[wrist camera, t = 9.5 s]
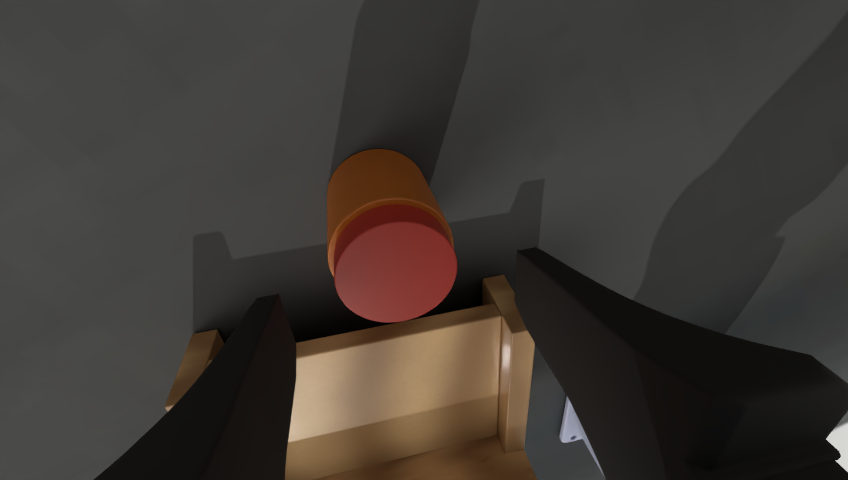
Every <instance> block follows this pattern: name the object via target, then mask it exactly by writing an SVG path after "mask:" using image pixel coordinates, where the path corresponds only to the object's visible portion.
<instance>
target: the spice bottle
mask: <svg viewBox="0 0 848 480" xmlns="http://www.w3.org/2000/svg"><path fill="white" fill-rule="evenodd" d="M327 250H328V264H329V268H330V271H331V273H332V275H333V277H334V282H335V287H336V290H337V293H338V295H339V297H340V299H341V300H342V301H343V303H344V304H345V305H346V306H347V307H348V308H349V309H350V310H351V311H353V312H354V313H356V314H357V315H359V316H361V317H364V318H366V319H369V320H373V321H378V322H389V323H390V322H401V321H406V320H410V319H413V318H416V317H419V316H421V315H423V314H425V313H427V312H429V311H430V310H432V309H433V308H435V307H436V306H437V305H438V304H439V303H440V302H442V301H443V299H444V298H445V297H446V296H447V295H448V293H449V292H450V290H451V288H452V286H453V284H454V282H455V279H456V275H457V266H458V264H457V257H456V253H455V251H454V242H453V236H452V232H451V229H450V227H449V225H448V223H447V221H446V219H445V217H444V215H443V213H442V211H441V209H440V207H439V205H438V203H437V201H436V199H435V198H434V196H433V194H432V192H431V190H430V188H429V186H428V184H427V182H426V180H425V178H424V176H423V174H422V172H421V171H420V169H419V168H418V167H417V165H416V164H415V163H414V162H413V161H412V160H410V159H409V158H408V157H406V156H404V155H403V154H400V153H398V152H395V151H392V150H387V149H370V150H365V151H362V152H359V153H357V154H355V155H353V156H351V157H349V158H348V159H346V160H345V161H344V162H343V163H342V164H340V166H339V167H338V168H337V169H336V170H335V172H334V173H333V175H332V177H331V179H330V182H329V185H328V191H327Z"/></svg>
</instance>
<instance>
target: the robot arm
mask: <svg viewBox="0 0 848 480" xmlns="http://www.w3.org/2000/svg"><path fill="white" fill-rule="evenodd" d="M514 302H515V304H516V307H517V309H518V311H519V314H520V316H521V318H522V320H523V323H524V325H525V327H526V329H527V331H528V332H529V334H530V336H531V337H532V339H533V341H534V342H535V344H536V346H537V347H538V349H539V351H540V352H541V354H542V356H543V357H544V359H545V360H546V362H547V364H548V365H549V367H550V369H551V370H552V372H553V373H554V375H555V377H556V378H557V380H558V382H559V383H560V385H561V386H562V388H563V390H564V392H565V393H566V395H567V398H566V404H565V409H564V415H563V420H562V426H561V431H560V436H559V437H560V439H561V441H562V442H563V443H567V442H571V441H575V440H579V439H583V440H584V442H585V444H586V445H587V447H588V449H589V451H590V452H591V454H592V456H593V458H594V460H595V461H596V463H597V465H598V467H599V468H600V470H601V472H602V474H603V475H604V477H605V479H606V480H848V472H847V471H845V470H844V469H843V468H842V467H841V466H840V465H839V464H838V463H837V462H836V461H835V460H838V459H839V458H840V457H841V455H840V453H839V451H838V450H837V449H836V448H835V447H834V446H832V445H831V444H830V443H829V442H828V441H827V440H826V438H827V437H828V435H829V434H830V433H831V431H832V430H833V429H834V428H835V426H836V425H837V424H838V423H839V421H840V420H841V419H842V418H843V416H844V415H845V414H846V412H847V411H848V383H846V382H845V381H844V380H843V379H841V378H840V377H839V376H837V375H836V374H835V373H833V372H832V371H831V370H829V369H828V368H827V367H826V366H824V365H823V364H822V363H820V362H819V361H818V360H816V359H815V358H814V357H813V356H811V355H808V354H804V353H799V352H795V351H790V350H786V349H781V348H777V347H772V346H768V345H763V344H759V343H755V342H751V341H747V340H743V339H740V338H736V337H733V336H729V335H725V334H722V333H719V332H715V331H712V330H709V329H705V328H702V327H699V326H697V325H694V324H691V323H688V322H685V321H682V320H679V319H676V318H674V317H671V316H668V315H666V314H663V313H661V312H658V311H656V310H654V309H651V308H649V307H646V306H644V305H642V304H639V303H637V302H635V301H633V300H631V299H628V298H626V297H624V296H622V295H620V294H618V293H616V292H614V291H612V290H610V289H608V288H606V287H604V286H603V285H601V284H599V283H597V282H595V281H593V280H592V279H590V278H588V277H586V276H584V275H583V274H581V273H579V272H578V271H576V270H574V269H572V268H571V267H569V266H567V265H566V264H564V263H562V262H561V261H559V260H557V259H556V258H554V257H552V256H551V255H549V254H547V253H545V252H544V251H542V250H540V249H538V248H536V247H534V248H529V249H524V250H518V251H517V263H516V280H515V297H514ZM295 384H296V342H295V339H294V336H293V334H292V331H291V328H290V325H289V322H288V319H287V316H286V313H285V311H284V308H283V305H282V302H281V299H280V296H279V294H276V295H271V296H265V297H260V298H257V299H256V300H255V301H254V303H253V304H252V305H251V307H250V308H249V310H248V311H247V313H246V314H245V316H244V317H243V318H242V320H241V321H240V323H239V324H238V326H237V327H236V329H235V330H234V331H233V333H232V334H231V336H230V337H229V338H228V340H227V341H226V343H225V344H224V345H223V347H222V348H221V349H220V351H219V352H218V354H217V355H216V356H215V358H214V359H213V360H212V361H211V363H210V364H209V365H208V366H207V368H206V369H205V370H204V371H203V373H202V374H201V375H200V376H199V378H198V379H197V380H196V381H195V383H194V384H193V385H192V386H191V387H190V388H189V390H188V391H187V392H186V393H185V394H184V395H183V396H182V397H181V398H180V400H179V401H178V402H177V403H176V404H175V405H174V406H173V407H172V408H171V409H170V410H169V411H168V412H167V413H166V414H165V415H164V416H163V417H162V418H161V419H160V420H159V421H158V422H157V423H156V424H155V425H154V426H153V427H152V428H151V429H150V430H149V431H148V432H147V433H146V434H145V435H144V436H142V437H141V438H140V439H139V440H138V441H137V442H136V443H135V444H134V445H133V446H132V447H131V448H130V449H129V450H128V451H127V452H125V453H124V454H123V455H122V456H121V457H120V458H119V459H118V460H116V461H115V462H114V463H113V464H112V465H111V466H109V467H108V468H107V469H106V470H105V471H104V472H102V473H101V474H100V475H99V476H98V477H96V478H95V479H94V480H285V467H286V456H287V446H288V439H289V431H290V423H291V416H292V408H293V400H294V392H295Z"/></svg>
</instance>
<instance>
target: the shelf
mask: <svg viewBox="0 0 848 480" xmlns="http://www.w3.org/2000/svg"><path fill="white" fill-rule="evenodd" d="M514 297H515V293H514V291H513V289H512V288H511V286H510V285H509V283H508V281H507V280H506V278H505V276H504V275H499V276H494V277H488V278H483V306H478V307H473V308H468V309H463V310H458V311H453V312H448V313H443V314H438V315H433V316H428V317H423V318H418V319H413V320H408V321H403V322H398V323H393V324H388V325H383V326H378V327H373V328H368V329H363V330H358V331H353V332H348V333H343V334H338V335H333V336H328V337H323V338H318V339H313V340H308V341H303V342H298V343H296V384H295V392H294V400H293V408H292V416H291V423H290V431H289V439H288V446H287V456H286V467H285V480H537V478H536V476H535V474H534V471H533V469H532V467H531V464H530V462H529V460H528V457H527V455H526V453H525V450H524V445H525V435H526V426H527V416H528V406H529V397H530V387H531V378H532V368H533V358H534V349H535V342H534V341H533V339H532V337H531V336H530V334H529V332H528V331H527V329H526V327H525V325H524V323H523V320H522V318H521V316H520V314H519V311H518V309H517V307H516V304H515V302H514ZM223 345H224V342H223V340H222V338H221V336H220V334H219V332H218V330H211V331H206V332H200V333H195V334H192V337H191V339H190V342H189V344H188V347H187V350H186V352H185V355H184V357H183V360H182V363H181V365H180V368H179V370H178V373H177V376H176V378H175V381H174V384H173V386H172V389H171V391H170V394H169V397H168V399H167V402H166V404H165V409H166V410H167V412H168V411H169V410H170V409H171V408H172V407H173V406H174V405H175V404H176V403H177V402H178V401H179V400H180V398H181V397H182V396H183V395H184V394H185V393H186V392H187V391H188V390H189V388H190V387H191V386H192V385H193V384H194V383H195V381H196V380H197V379H198V378H199V376H200V375H201V374H202V373H203V371H204V370H205V369H206V368H207V366H208V365H209V364H210V363H211V361H212V360H213V359H214V358H215V356H216V355H217V354H218V352H219V351H220V349H221V348H222V347H223Z"/></svg>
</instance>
